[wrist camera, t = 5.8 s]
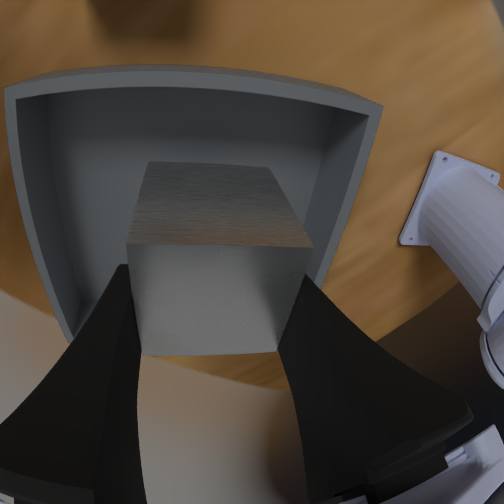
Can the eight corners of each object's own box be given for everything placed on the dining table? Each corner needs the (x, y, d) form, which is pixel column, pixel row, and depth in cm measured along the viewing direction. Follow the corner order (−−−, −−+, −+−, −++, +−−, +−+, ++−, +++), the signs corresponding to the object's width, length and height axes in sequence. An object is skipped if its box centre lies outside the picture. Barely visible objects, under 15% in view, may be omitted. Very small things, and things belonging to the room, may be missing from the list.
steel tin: (269, 167, 11) (314, 247, 8) (250, 259, 14) (276, 351, 10) (148, 161, 10) (126, 243, 7) (150, 258, 13) (143, 355, 9)
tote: (344, 89, 15) (383, 106, 11) (284, 299, 24) (298, 340, 21) (42, 73, 11) (4, 87, 8) (78, 299, 20) (67, 342, 17)
